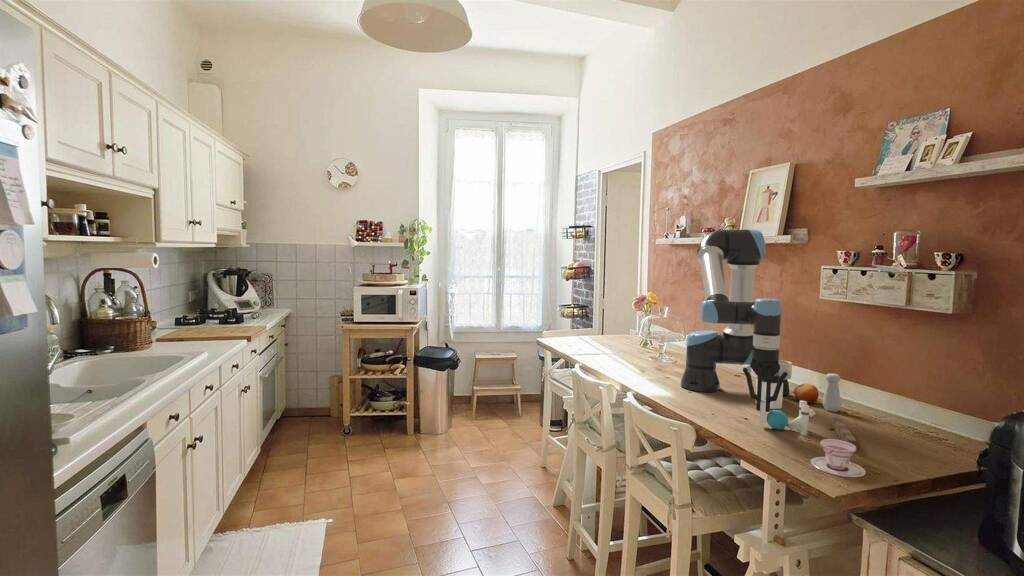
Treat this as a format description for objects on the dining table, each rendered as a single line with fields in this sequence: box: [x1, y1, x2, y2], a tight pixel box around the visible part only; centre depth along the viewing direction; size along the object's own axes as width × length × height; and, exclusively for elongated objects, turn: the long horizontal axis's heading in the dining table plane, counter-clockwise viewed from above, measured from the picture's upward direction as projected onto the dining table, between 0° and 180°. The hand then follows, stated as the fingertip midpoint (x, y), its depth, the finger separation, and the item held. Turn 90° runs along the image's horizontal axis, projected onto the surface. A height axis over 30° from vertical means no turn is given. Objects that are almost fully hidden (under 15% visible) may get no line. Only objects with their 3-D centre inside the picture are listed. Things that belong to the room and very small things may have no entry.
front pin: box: [786, 408, 817, 431], centre depth 156 cm, size 2×2×9 cm
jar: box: [755, 372, 784, 410], centre depth 182 cm, size 9×8×12 cm
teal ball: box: [766, 409, 789, 431], centre depth 158 cm, size 6×6×6 cm
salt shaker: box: [821, 373, 842, 413], centre depth 178 cm, size 6×6×13 cm
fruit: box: [793, 383, 820, 405], centre depth 188 cm, size 8×8×8 cm
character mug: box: [778, 359, 793, 396], centre depth 197 cm, size 11×7×13 cm, turn 3°
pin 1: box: [797, 401, 808, 431], centre depth 157 cm, size 2×2×9 cm
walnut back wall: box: [831, 415, 858, 453], centre depth 151 cm, size 24×2×3 cm, turn 157°
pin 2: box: [799, 404, 810, 437], centre depth 153 cm, size 2×2×9 cm
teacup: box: [810, 438, 867, 478], centre depth 129 cm, size 12×12×6 cm
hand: (762, 421), depth 160 cm, fingers closed
